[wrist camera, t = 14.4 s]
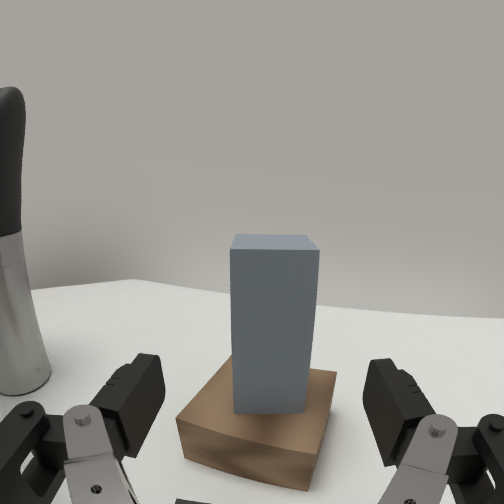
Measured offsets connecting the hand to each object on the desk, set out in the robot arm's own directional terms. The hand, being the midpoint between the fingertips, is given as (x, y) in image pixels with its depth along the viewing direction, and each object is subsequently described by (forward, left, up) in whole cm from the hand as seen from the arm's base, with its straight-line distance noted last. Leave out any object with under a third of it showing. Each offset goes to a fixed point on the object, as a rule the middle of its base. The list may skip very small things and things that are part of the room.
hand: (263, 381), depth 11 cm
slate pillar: (-4, +9, -8) cm, 13 cm away
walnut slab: (-4, +9, -13) cm, 17 cm away
